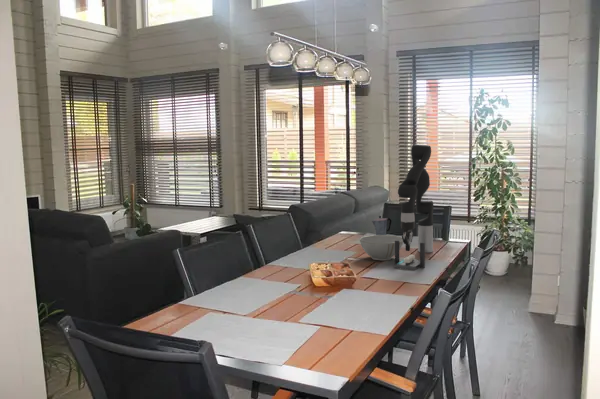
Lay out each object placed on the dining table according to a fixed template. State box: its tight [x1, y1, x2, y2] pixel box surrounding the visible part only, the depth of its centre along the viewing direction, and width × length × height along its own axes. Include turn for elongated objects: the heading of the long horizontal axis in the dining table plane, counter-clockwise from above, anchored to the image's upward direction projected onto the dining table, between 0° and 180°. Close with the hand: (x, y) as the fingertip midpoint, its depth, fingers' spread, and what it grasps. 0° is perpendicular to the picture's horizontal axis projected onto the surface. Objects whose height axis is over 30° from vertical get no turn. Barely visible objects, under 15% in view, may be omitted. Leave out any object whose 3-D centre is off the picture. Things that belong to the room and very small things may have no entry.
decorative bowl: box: [359, 234, 404, 261], centre depth 315 cm, size 27×27×12 cm
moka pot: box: [371, 215, 393, 235], centre depth 359 cm, size 10×15×20 cm, turn 115°
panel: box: [394, 258, 420, 271], centre depth 294 cm, size 16×12×3 cm
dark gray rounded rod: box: [394, 241, 400, 265], centre depth 298 cm, size 3×3×14 cm
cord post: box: [419, 243, 426, 269], centre depth 290 cm, size 3×3×14 cm
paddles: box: [403, 254, 416, 263], centre depth 294 cm, size 10×3×2 cm, turn 149°
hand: (407, 250), depth 291 cm, fingers closed
